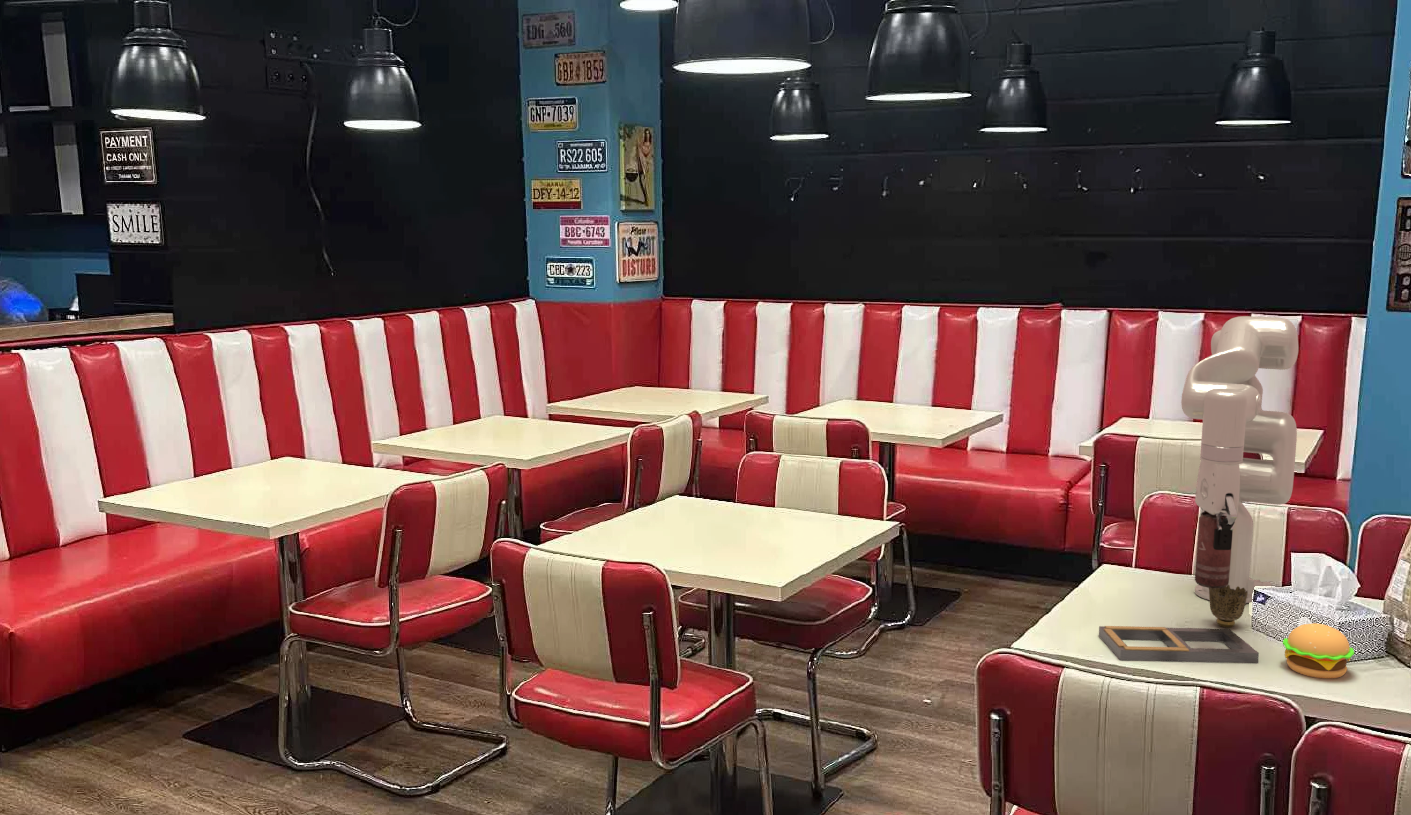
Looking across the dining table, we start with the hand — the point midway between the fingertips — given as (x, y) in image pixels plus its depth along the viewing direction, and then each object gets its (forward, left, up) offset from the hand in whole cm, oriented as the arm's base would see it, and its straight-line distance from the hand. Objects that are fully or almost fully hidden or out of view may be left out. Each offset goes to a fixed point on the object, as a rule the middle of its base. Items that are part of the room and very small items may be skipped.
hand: (1215, 543), depth 236 cm
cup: (-9, -15, -22) cm, 28 cm away
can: (0, 0, -8) cm, 8 cm away
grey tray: (+6, 0, -21) cm, 22 cm away
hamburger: (-16, +10, -22) cm, 29 cm away
